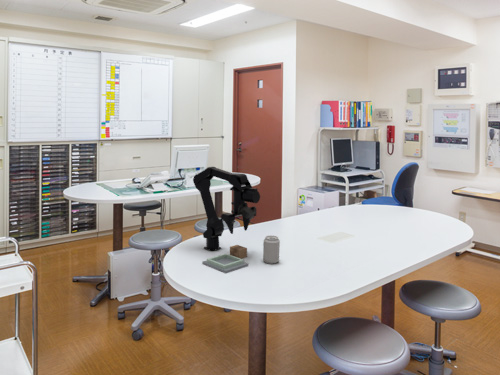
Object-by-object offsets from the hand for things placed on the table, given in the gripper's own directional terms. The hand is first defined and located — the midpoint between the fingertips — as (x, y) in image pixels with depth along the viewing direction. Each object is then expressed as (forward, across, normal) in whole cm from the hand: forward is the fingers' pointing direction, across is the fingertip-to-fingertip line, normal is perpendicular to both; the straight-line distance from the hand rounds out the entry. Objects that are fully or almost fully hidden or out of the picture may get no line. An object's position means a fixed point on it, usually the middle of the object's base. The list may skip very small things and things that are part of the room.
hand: (238, 232), depth 200 cm
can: (+12, +6, -16) cm, 21 cm away
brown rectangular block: (+12, 0, 0) cm, 12 cm away
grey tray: (+12, -13, -5) cm, 18 cm away
